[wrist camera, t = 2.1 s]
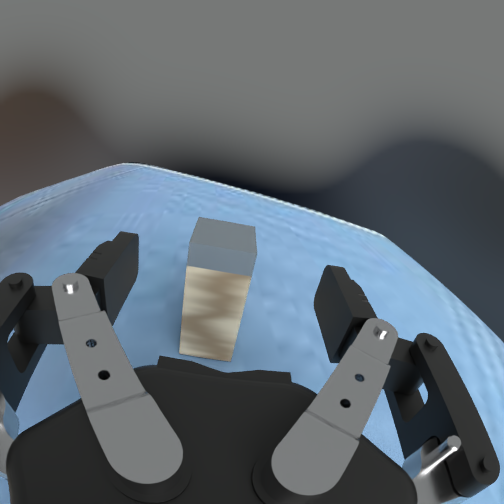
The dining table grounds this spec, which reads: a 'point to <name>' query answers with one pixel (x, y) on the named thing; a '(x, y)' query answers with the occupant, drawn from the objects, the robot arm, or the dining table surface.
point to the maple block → (216, 287)
